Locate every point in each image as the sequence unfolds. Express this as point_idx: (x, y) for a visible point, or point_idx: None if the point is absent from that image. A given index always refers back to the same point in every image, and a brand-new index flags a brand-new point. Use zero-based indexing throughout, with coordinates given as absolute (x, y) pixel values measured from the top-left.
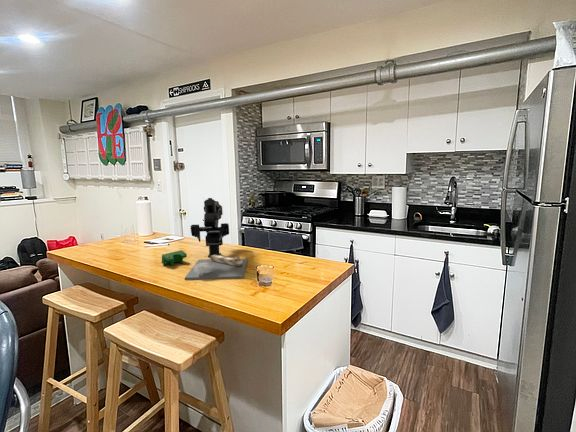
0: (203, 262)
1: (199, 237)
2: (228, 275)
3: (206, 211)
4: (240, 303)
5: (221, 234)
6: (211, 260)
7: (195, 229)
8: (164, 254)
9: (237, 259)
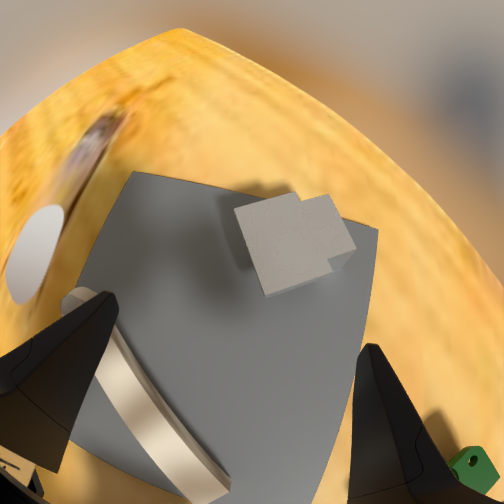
0: (297, 278)
1: (385, 385)
2: (181, 192)
3: None
4: (211, 57)
5: (32, 345)
6: (226, 475)
7: (490, 502)
8: (491, 483)
9: (81, 300)
